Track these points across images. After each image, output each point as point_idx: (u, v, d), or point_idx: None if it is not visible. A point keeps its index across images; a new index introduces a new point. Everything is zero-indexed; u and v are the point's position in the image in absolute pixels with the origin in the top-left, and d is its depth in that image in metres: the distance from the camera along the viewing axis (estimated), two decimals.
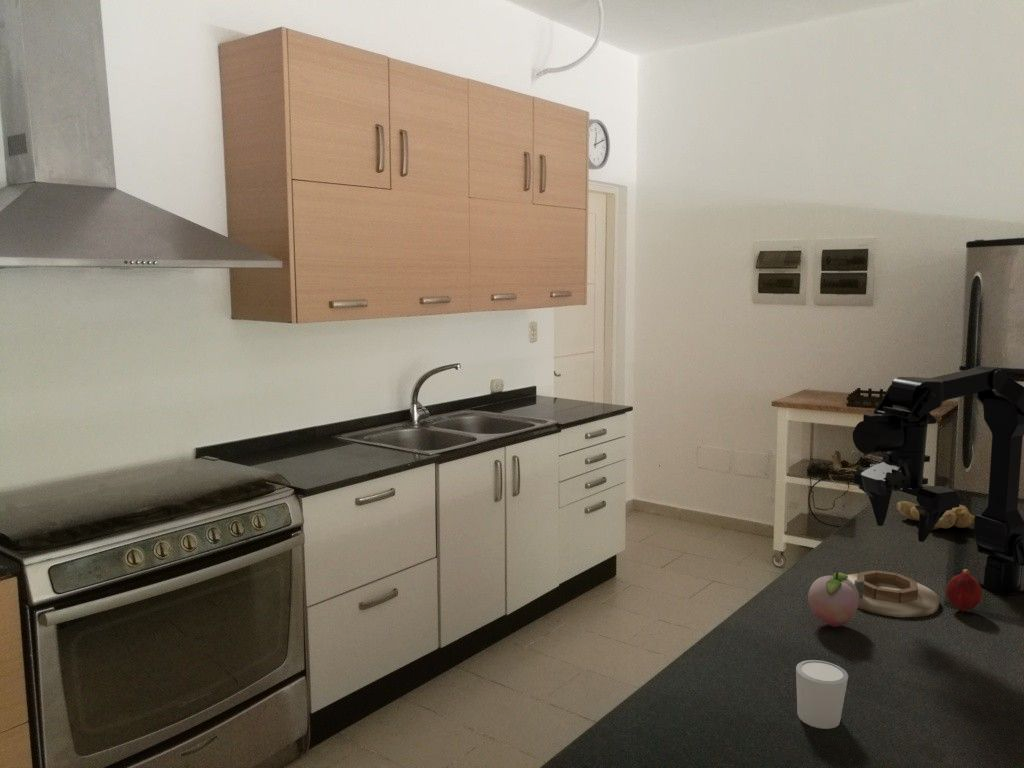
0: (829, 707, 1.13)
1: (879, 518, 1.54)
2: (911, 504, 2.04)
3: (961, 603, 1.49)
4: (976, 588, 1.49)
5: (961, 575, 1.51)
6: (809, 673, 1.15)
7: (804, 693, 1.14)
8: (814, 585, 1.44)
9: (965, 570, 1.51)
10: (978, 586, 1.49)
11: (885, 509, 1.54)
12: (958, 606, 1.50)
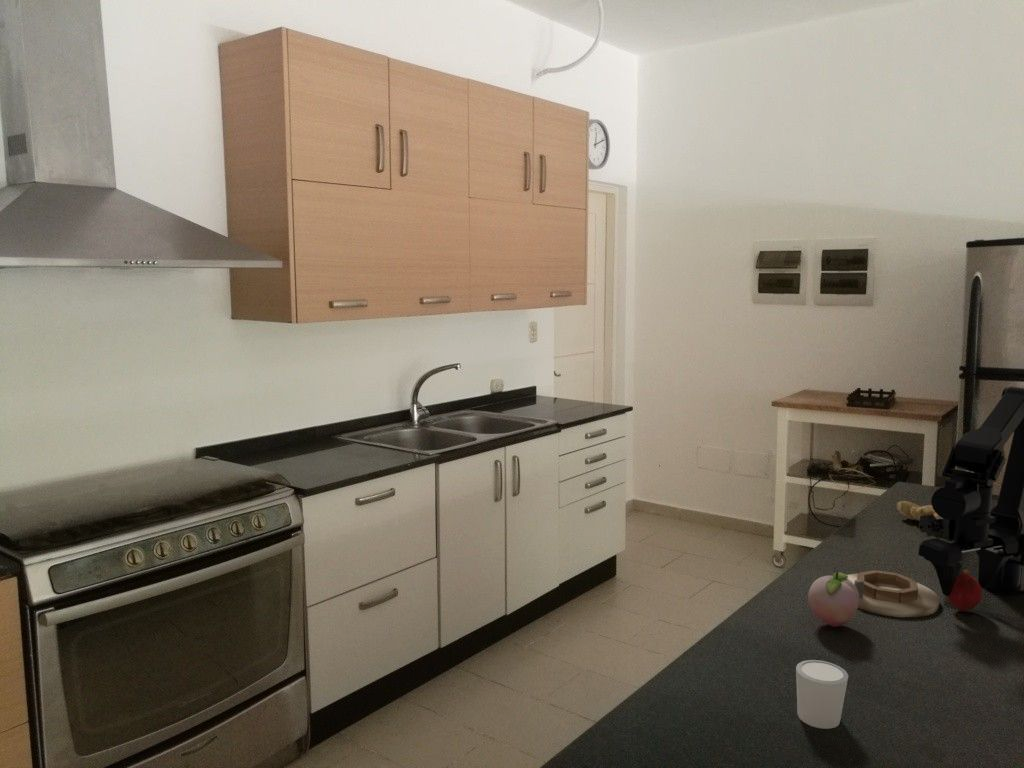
0: (829, 707, 1.13)
1: (979, 579, 1.53)
2: (911, 504, 2.04)
3: (961, 603, 1.49)
4: (976, 588, 1.49)
5: (961, 575, 1.51)
6: (809, 673, 1.15)
7: (804, 693, 1.14)
8: (814, 585, 1.44)
9: (965, 570, 1.51)
10: (978, 586, 1.49)
11: (988, 574, 1.52)
12: (958, 606, 1.50)
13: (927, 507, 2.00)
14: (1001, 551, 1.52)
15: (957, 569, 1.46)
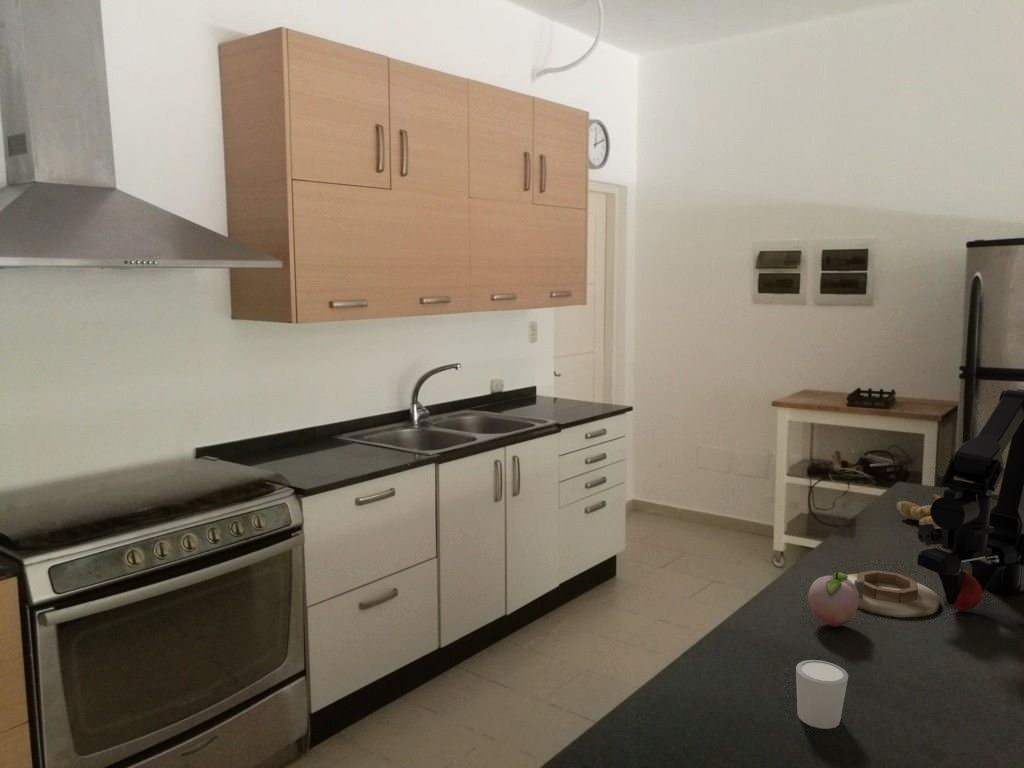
0: (829, 707, 1.13)
1: None
2: (911, 504, 2.04)
3: (961, 603, 1.49)
4: (976, 588, 1.49)
5: None
6: (809, 673, 1.15)
7: (804, 693, 1.14)
8: (814, 585, 1.44)
9: (965, 570, 1.51)
10: (978, 586, 1.49)
11: (981, 584, 1.52)
12: (958, 606, 1.50)
13: (927, 507, 2.00)
14: (994, 562, 1.51)
15: (962, 578, 1.47)
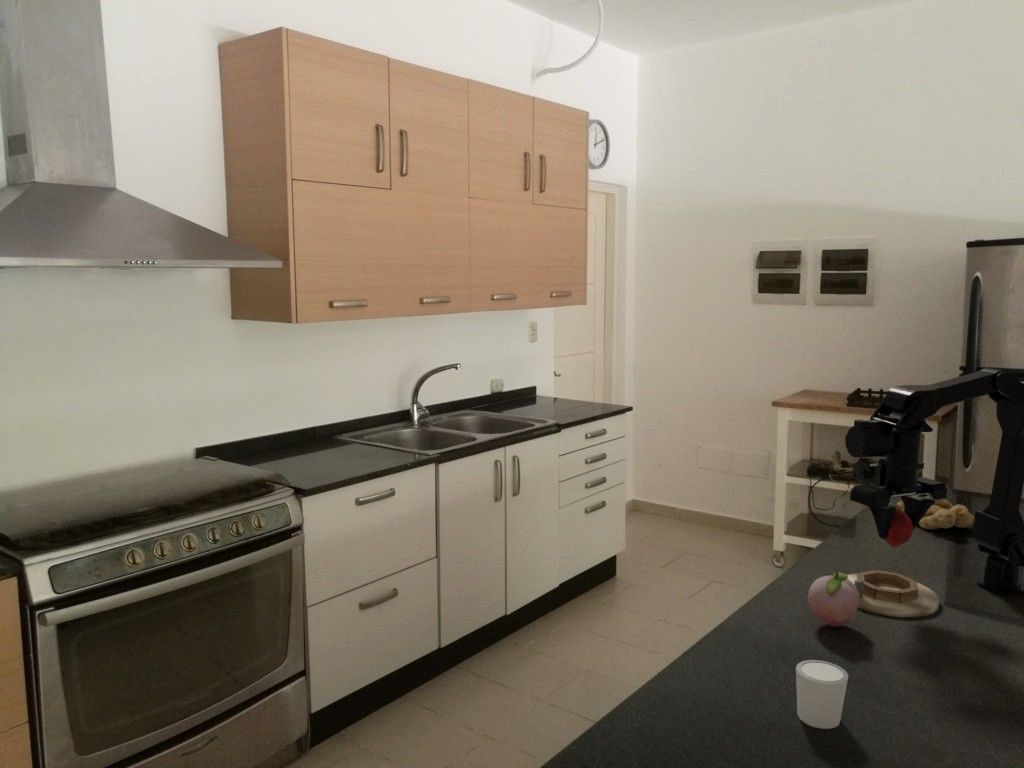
0: (829, 707, 1.13)
1: None
2: None
3: (893, 537, 1.53)
4: (907, 523, 1.53)
5: None
6: (809, 673, 1.15)
7: (804, 693, 1.14)
8: (814, 585, 1.44)
9: (897, 506, 1.55)
10: (908, 521, 1.53)
11: (912, 520, 1.56)
12: (890, 541, 1.54)
13: None
14: (925, 498, 1.55)
15: (892, 512, 1.51)
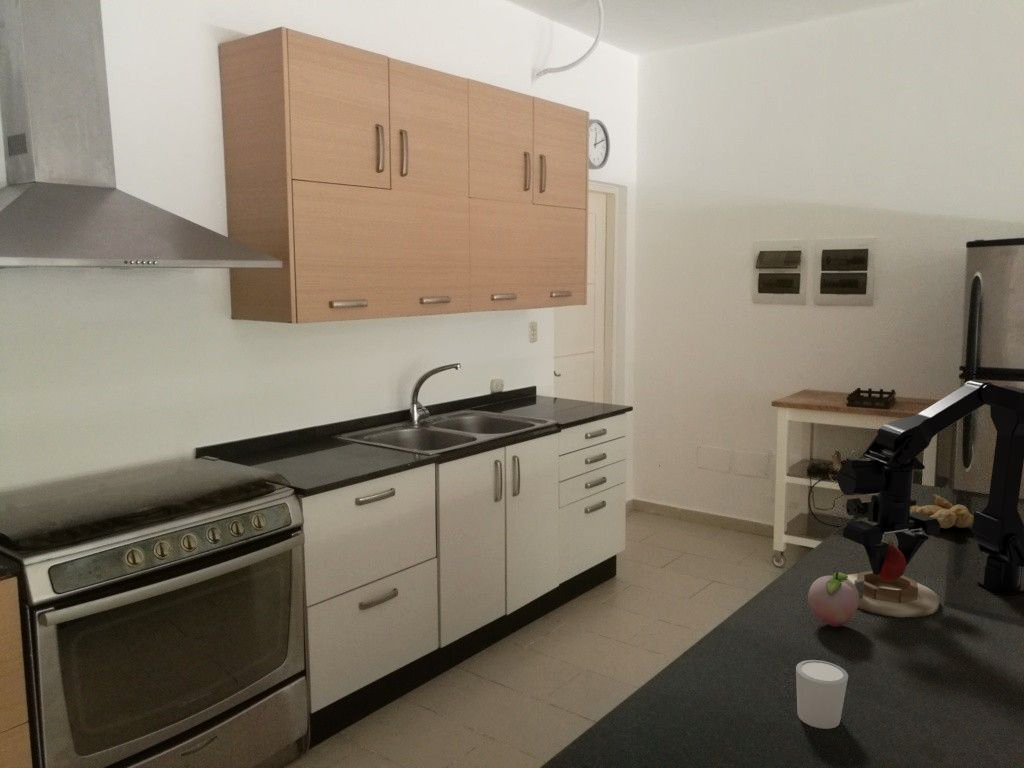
0: (829, 707, 1.13)
1: None
2: None
3: (886, 573, 1.55)
4: (900, 559, 1.55)
5: None
6: (809, 672, 1.15)
7: (804, 693, 1.14)
8: (814, 585, 1.44)
9: (890, 542, 1.56)
10: (901, 557, 1.55)
11: (906, 556, 1.57)
12: (883, 577, 1.56)
13: (927, 507, 2.00)
14: (918, 534, 1.57)
15: (884, 549, 1.52)
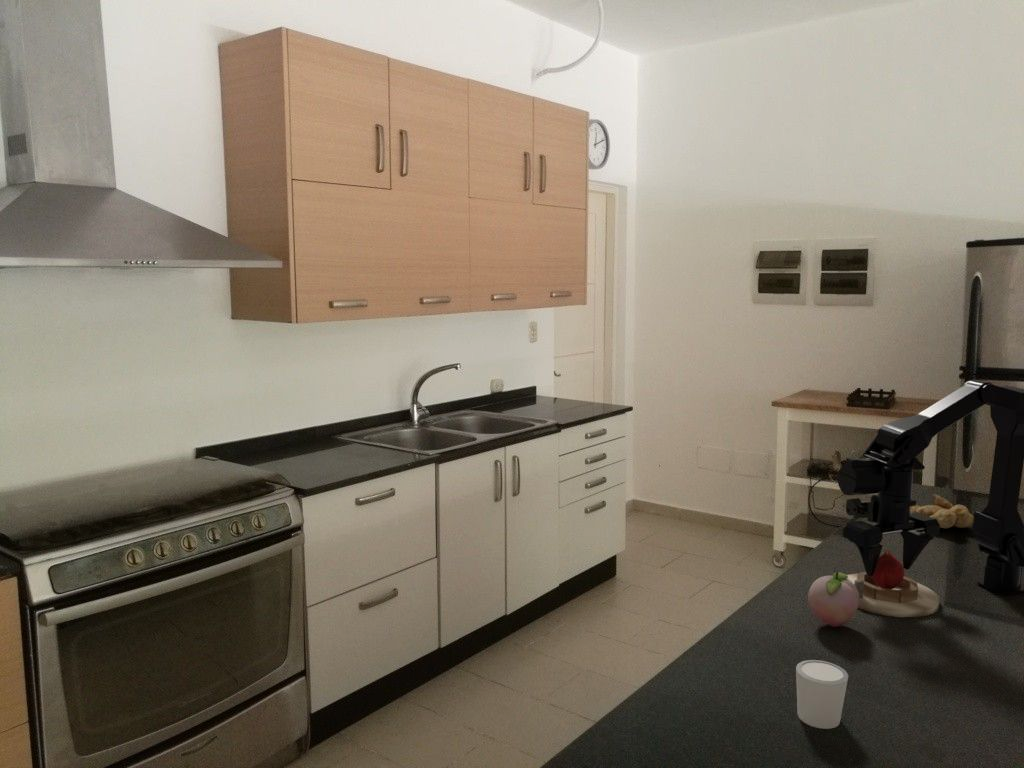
0: (829, 707, 1.13)
1: (903, 560, 1.59)
2: None
3: (884, 582, 1.55)
4: (897, 568, 1.55)
5: (883, 556, 1.57)
6: (809, 673, 1.15)
7: (804, 693, 1.14)
8: (814, 585, 1.44)
9: (887, 551, 1.57)
10: (899, 566, 1.55)
11: (911, 555, 1.58)
12: (881, 586, 1.56)
13: (927, 507, 2.00)
14: (923, 533, 1.57)
15: (878, 550, 1.52)
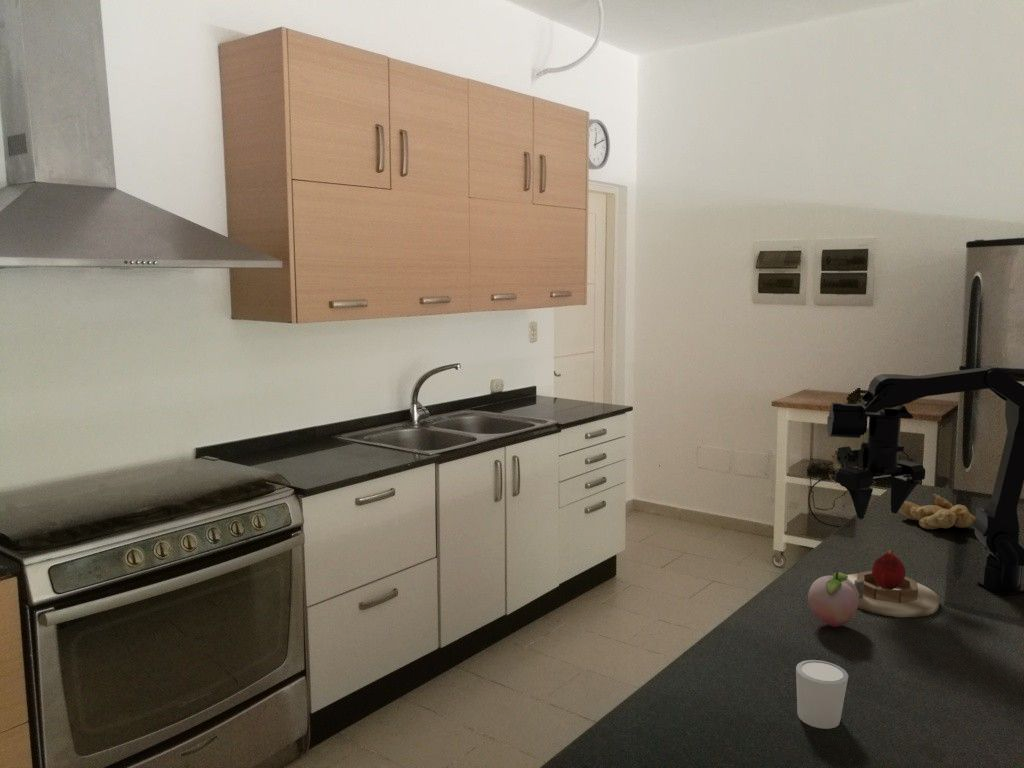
0: (829, 707, 1.13)
1: (891, 505, 1.68)
2: (911, 504, 2.04)
3: (885, 581, 1.55)
4: (899, 568, 1.55)
5: (885, 555, 1.57)
6: (809, 673, 1.15)
7: (804, 693, 1.14)
8: (814, 585, 1.44)
9: (889, 550, 1.57)
10: (901, 566, 1.55)
11: (899, 499, 1.66)
12: (882, 585, 1.56)
13: (927, 507, 2.00)
14: (910, 478, 1.66)
15: (869, 493, 1.60)
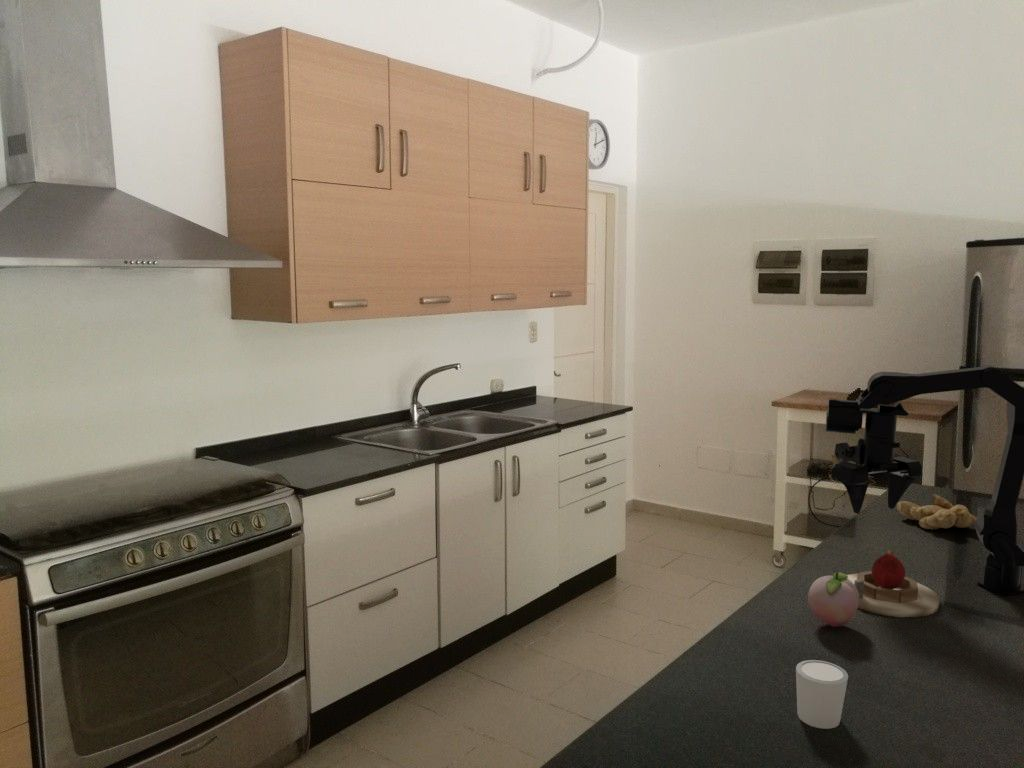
0: (829, 707, 1.13)
1: (888, 500, 1.71)
2: (911, 504, 2.04)
3: (885, 582, 1.55)
4: (899, 568, 1.55)
5: (885, 556, 1.57)
6: (809, 673, 1.15)
7: (804, 693, 1.14)
8: (814, 585, 1.44)
9: (889, 551, 1.57)
10: (900, 566, 1.55)
11: (895, 495, 1.69)
12: (882, 585, 1.56)
13: (927, 507, 2.00)
14: (907, 474, 1.69)
15: (864, 488, 1.63)
